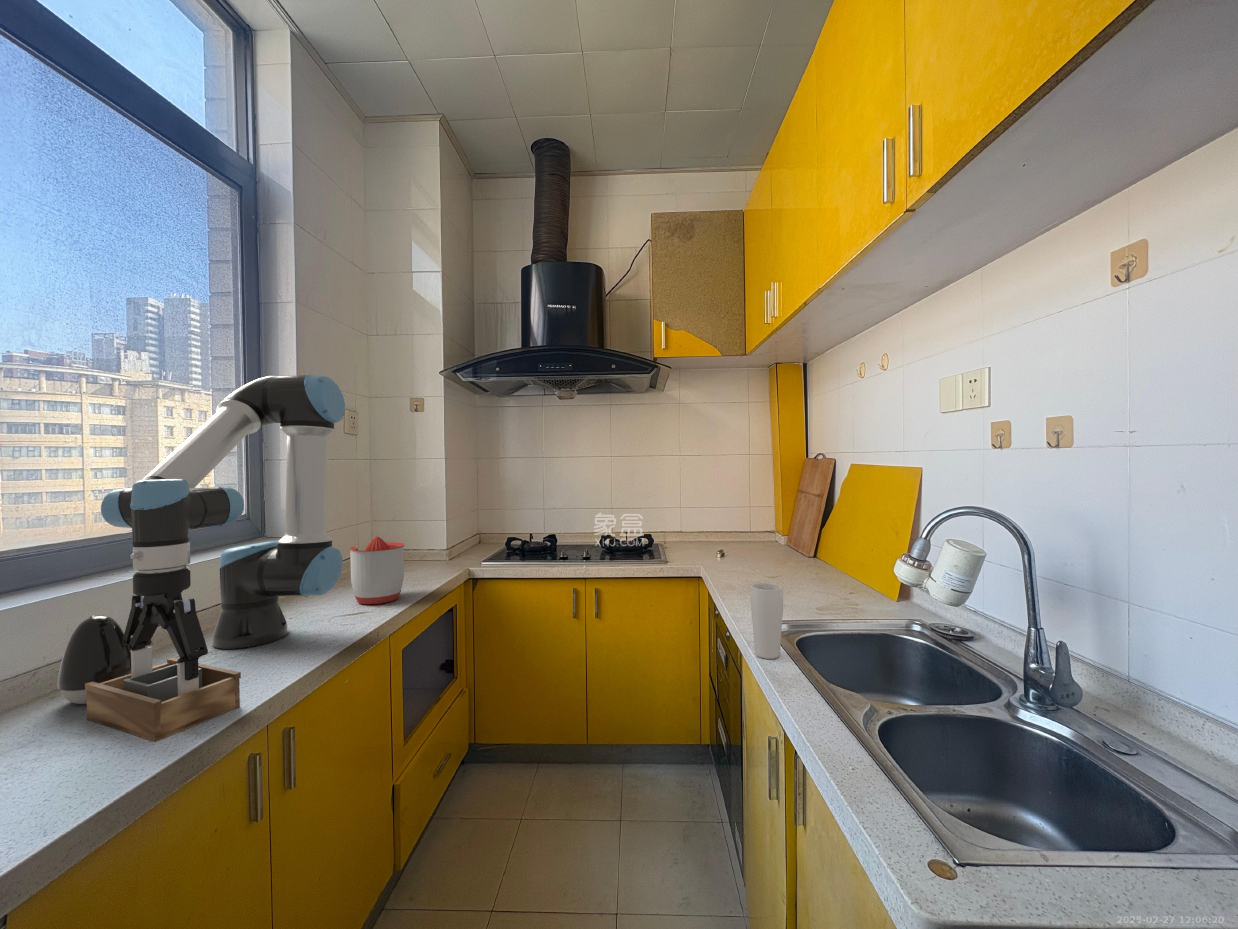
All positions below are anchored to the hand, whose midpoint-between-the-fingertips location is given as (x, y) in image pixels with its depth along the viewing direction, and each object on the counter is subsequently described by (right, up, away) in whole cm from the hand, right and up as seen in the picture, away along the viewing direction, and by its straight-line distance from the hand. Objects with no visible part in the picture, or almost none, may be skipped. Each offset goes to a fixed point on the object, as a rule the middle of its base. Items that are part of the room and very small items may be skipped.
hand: (164, 691), depth 92 cm
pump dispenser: (-18, -4, +6) cm, 19 cm away
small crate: (0, -3, 0) cm, 3 cm away
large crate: (0, -4, 0) cm, 4 cm away
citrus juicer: (+3, -3, +74) cm, 74 cm away
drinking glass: (+111, -2, +23) cm, 113 cm away
